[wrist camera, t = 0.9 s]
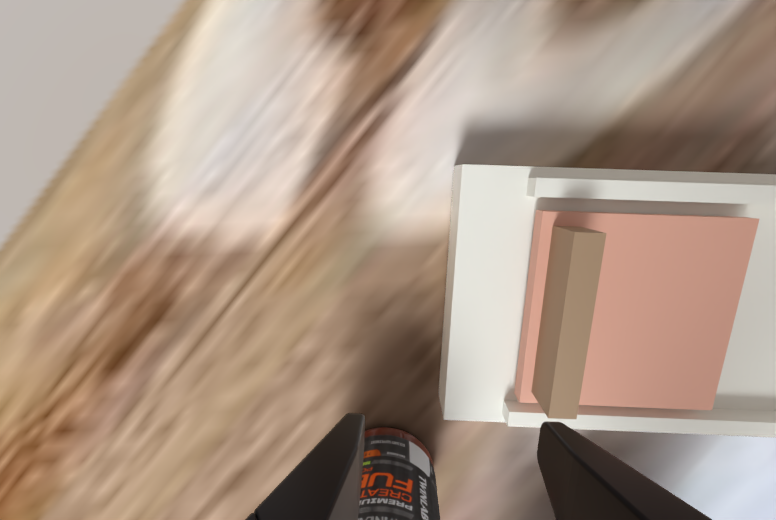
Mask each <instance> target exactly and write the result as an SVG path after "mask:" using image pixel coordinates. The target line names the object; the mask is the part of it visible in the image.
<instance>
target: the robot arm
mask: <svg viewBox="0 0 776 520" xmlns="http://www.w3.org/2000/svg"><path fill="white" fill-rule="evenodd" d="M364 438H365V416H364V414H358V413H348V414H346V415H345V416H344V417H343V418H342V419H341V420H340V421H339V422H338V423H337V424H336V425H335V427H334V428H333V429H332V430H331V431H330V432H329V433H328V434H327V435H326V436H325V437H324V438H323V439H322V440H321V441H320V442H319V443H318V444H317V445H316V446H315V447H314V449H313V450H312V451H311V452H310V453H309V454H308V455H307V456H306V457H305V458H304V459H303V460H302V461H301V462H300V463H299V464H298V465H297V466H296V467H295V468H294V469H293V471H292V472H291V473H290V474H289V475H288V476H287V477H286V478H285V479H284V480H283V481H282V482H281V483H280V484H279V485H278V486H277V487H276V488H275V489H274V490H273V491H272V492H271V494H270V495H269V496H268V497H267V498H266V499H265V500H264V501H263V502H262V503H261V504H260V505H259V506H258V507H257V508H256V509H255V511H254V513H251V514H250V515H249V516H248V517H247V518H246V519H245V520H358V514H359V504H360V492H361V481H362V470H363V458H364ZM537 458H538V463H539V467H540V470H541V473H542V476H543V479H544V483H545V486H546V489H547V492H548V495H549V498H550V502H551V505H552V508H553V511H554V514H555V517H556V520H712V519H710V518H709V517H707V516H706V515H704V514H703V513H701V512H700V511H698V510H697V509H695V508H693V507H692V506H690V505H689V504H687V503H686V502H684V501H683V500H681V499H679V498H678V497H676V496H675V495H673V494H672V493H670V492H669V491H667V490H666V489H664V488H662V487H661V486H659V485H658V484H656V483H655V482H653V481H652V480H650V479H648V478H647V477H645V476H644V475H642V474H641V473H639V472H638V471H636V470H635V469H633V468H631V467H630V466H628V465H627V464H625V463H624V462H622V461H621V460H619V459H618V458H616V457H614V456H613V455H611V454H610V453H608V452H607V451H605V450H604V449H602V448H600V447H599V446H597V445H596V444H594V443H593V442H591V441H590V440H588V439H587V438H585V437H583V436H582V435H580V434H579V433H577V432H576V431H574V430H573V429H571V428H570V427H568V426H566V425H565V424H563V423H561V422H550V421H545V422H543V423H542V425H541V428H540V435H539V443H538V450H537Z"/></svg>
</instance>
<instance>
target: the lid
mask: <svg viewBox="0 0 776 520" xmlns="http://www.w3.org/2000/svg"><path fill="white" fill-rule="evenodd" d="M758 223H759V219H757V218H748V217H731V216H701V215H672V214H643V213H613V212H584V211H554V210H536V213H535V222H534V230H533V239H532V247H531V256H530V264H529V273H528V281H527V290H526V298H525V307H524V315H523V324H522V332H521V341H520V349H519V357H518V366H517V374H516V383H515V391H514V394H515V395H516V397H517V399H518V401H519V403H539V405H540V406H541V408H542V409H543V411H544V412H545V414H546V416H547V417H548V418H555V419H577V413H578V407H579V405H592V406H617V407H641V408H665V409H690V410H712V408H713V404H714V400H715V396H716V392H717V388H718V384H719V380H720V376H721V372H722V368H723V364H724V360H725V356H726V352H727V348H728V344H729V340H730V336H731V332H732V328H733V323H734V319H735V315H736V311H737V307H738V303H739V299H740V295H741V291H742V287H743V283H744V279H745V275H746V271H747V267H748V263H749V259H750V255H751V251H752V247H753V243H754V239H755V235H756V231H757V227H758Z"/></svg>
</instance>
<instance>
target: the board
mask: <svg viewBox="0 0 776 520" xmlns="http://www.w3.org/2000/svg"><path fill="white" fill-rule="evenodd" d="M536 210H554V211H584V212H613V213H643V214H672V215H701V216H731V217H748V218H757V219H759V223H758V227H757V231H756V235H755V239H754V243H753V247H752V251H751V255H750V259H749V263H748V267H747V271H746V275H745V279H744V283H743V287H742V291H741V295H740V299H739V303H738V307H737V311H736V315H735V319H734V323H733V328H732V332H731V336H730V340H729V344H728V348H727V352H726V356H725V360H724V364H723V368H722V372H721V376H720V380H719V384H718V388H717V392H716V396H715V400H714V404H713V408H712V410H690V409H665V408H641V407H617V406H592V405H579V407H578V413H577V419H555V418H548V417H547V416H546V414H545V412H544V411H543V409H542V408H541V406H540V405H539V403H519V401H518V399H517V397H516V395H515V394H514V391H515V383H516V374H517V366H518V357H519V349H520V341H521V332H522V324H523V315H524V307H525V298H526V290H527V281H528V273H529V264H530V256H531V247H532V239H533V230H534V222H535V213H536ZM438 394H439V399H440V404H441V409H442V414H443V419H444V420H461V421H485V422H506V424H507V426H513V427H537V428H541V425H542V423H543V422H545V421H550V422H561V423H563V424H565V425H566V426H568V427H570V428H571V429H585V430H609V431H632V432H656V433H680V434H704V435H728V436H752V437H776V174H748V173H717V172H687V171H656V170H625V169H594V168H564V167H533V166H502V165H471V164H461V165H457V166H454V175H453V190H452V204H451V219H450V233H449V248H448V262H447V277H446V291H445V306H444V320H443V335H442V350H441V364H440V379H439V393H438Z"/></svg>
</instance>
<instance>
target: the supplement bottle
mask: <svg viewBox="0 0 776 520" xmlns="http://www.w3.org/2000/svg"><path fill="white" fill-rule="evenodd" d="M358 520H440V514H439V505H438V497H437V486H436V478H435V472H434V467H433V462H432V459H431V456H430V454H429V452H428V450H427V449H426V448H425V446H424V445H423V444H422V443H421V442H420V441H419V440H418V439H417V438H416V437H414V436H412V435H411V434H409V433H408V432H405V431H402V430H399V429H395V428H389V427H380V428H373V429H369V430H366V431H365V438H364V458H363V470H362V481H361V492H360V504H359V514H358Z"/></svg>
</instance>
